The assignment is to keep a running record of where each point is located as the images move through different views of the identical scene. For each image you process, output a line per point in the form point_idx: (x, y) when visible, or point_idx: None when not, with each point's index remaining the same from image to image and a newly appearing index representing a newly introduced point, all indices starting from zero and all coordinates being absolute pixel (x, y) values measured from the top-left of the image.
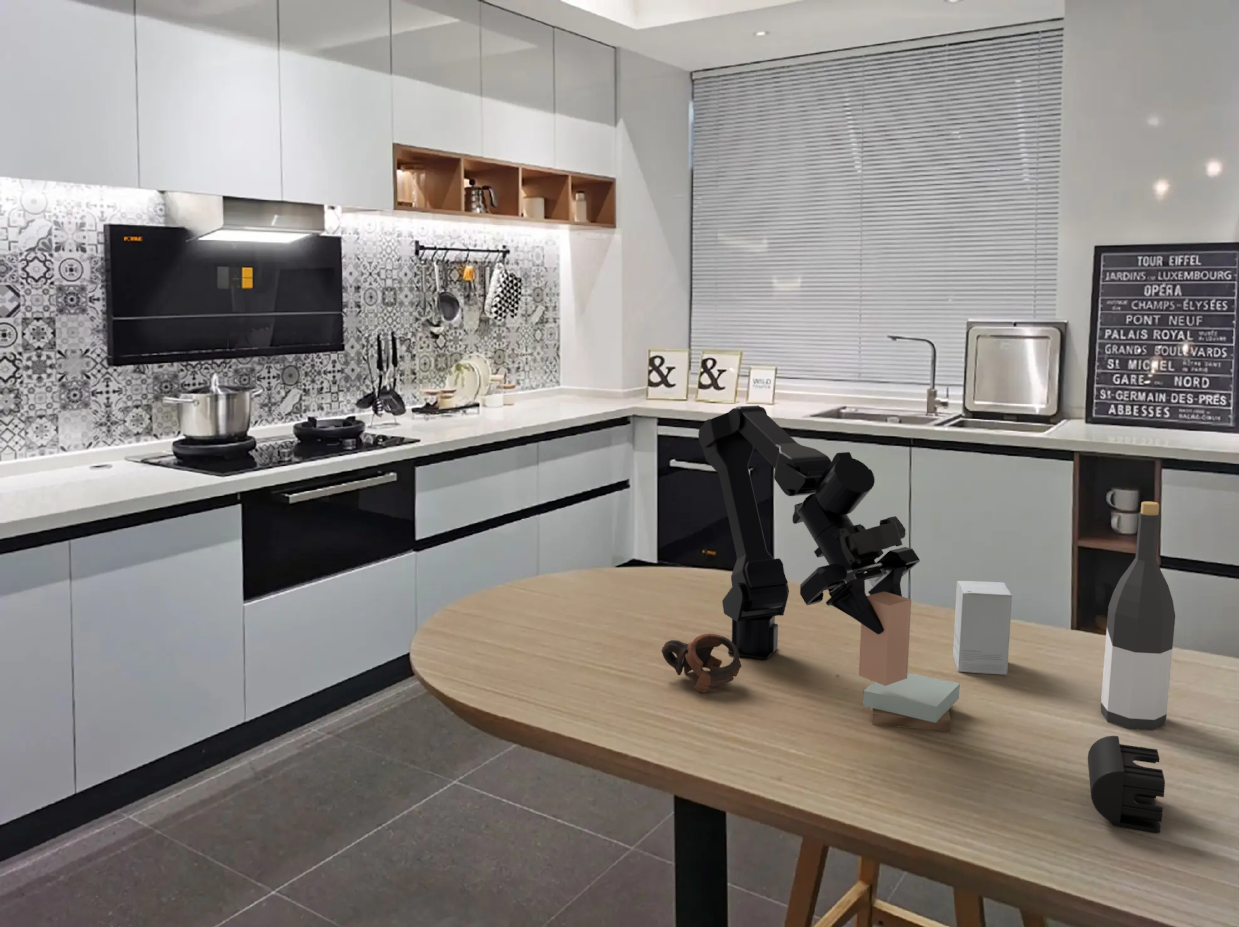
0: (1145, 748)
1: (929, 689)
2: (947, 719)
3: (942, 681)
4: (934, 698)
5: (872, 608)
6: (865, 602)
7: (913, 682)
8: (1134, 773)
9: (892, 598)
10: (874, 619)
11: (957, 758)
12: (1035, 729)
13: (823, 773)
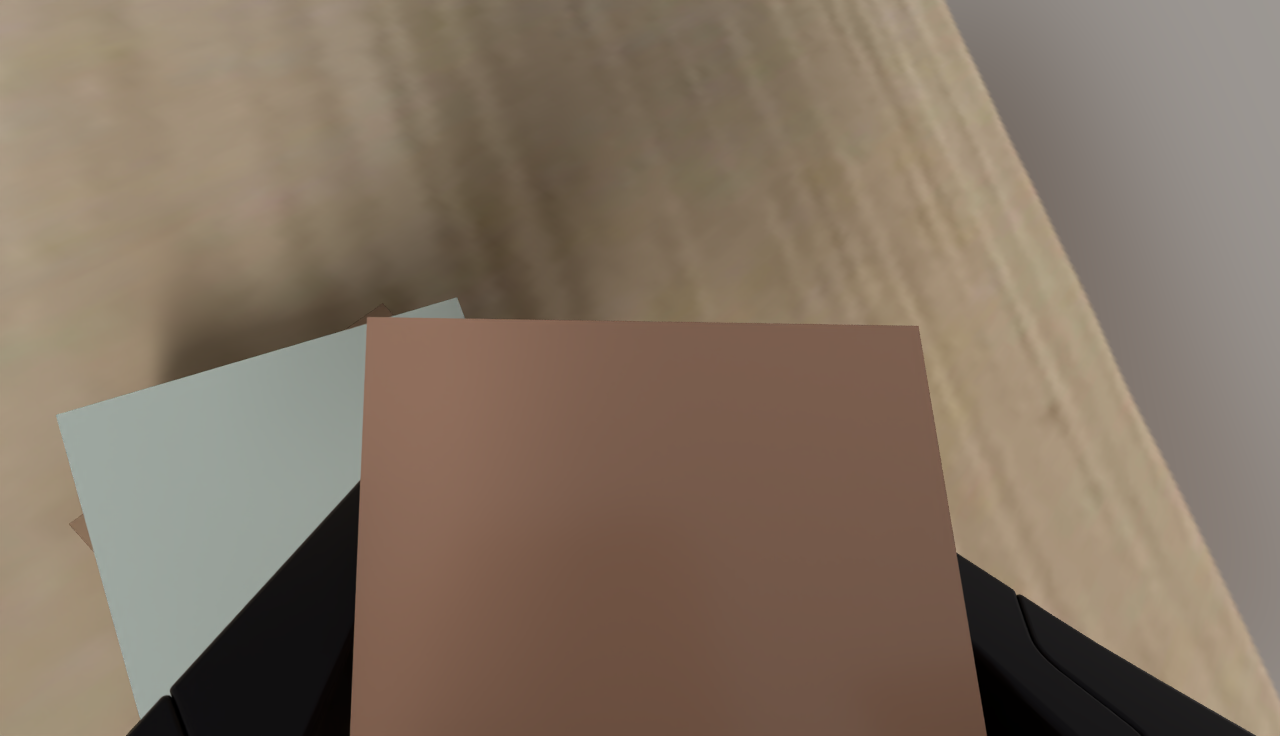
0: None
1: (285, 453)
2: (385, 315)
3: (106, 491)
4: None
5: None
6: (1087, 666)
7: (263, 571)
8: None
9: (614, 560)
10: None
11: (558, 184)
12: (84, 126)
13: (944, 363)
